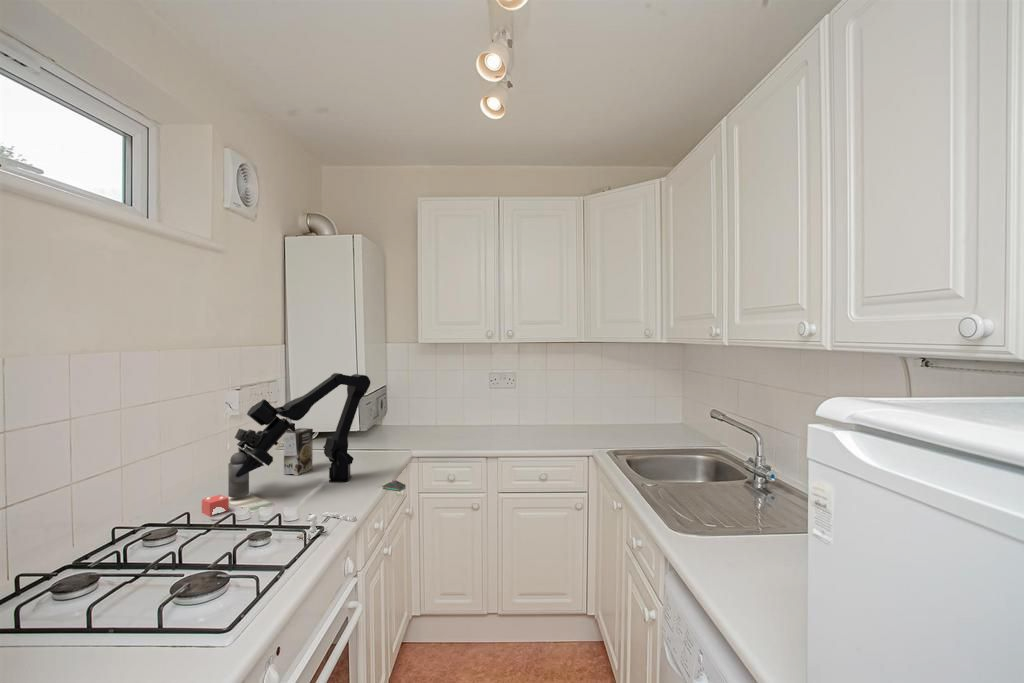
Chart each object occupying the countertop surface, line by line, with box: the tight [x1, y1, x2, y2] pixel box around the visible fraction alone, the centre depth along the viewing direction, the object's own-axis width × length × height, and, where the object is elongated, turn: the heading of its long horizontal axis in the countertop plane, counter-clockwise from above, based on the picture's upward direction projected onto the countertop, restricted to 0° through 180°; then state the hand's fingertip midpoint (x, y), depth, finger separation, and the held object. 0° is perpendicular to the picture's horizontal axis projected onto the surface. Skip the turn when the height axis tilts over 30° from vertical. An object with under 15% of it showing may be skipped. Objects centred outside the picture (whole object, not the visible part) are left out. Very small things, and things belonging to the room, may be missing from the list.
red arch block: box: [201, 494, 230, 517], centre depth 134 cm, size 5×5×6 cm
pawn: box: [227, 451, 250, 498], centre depth 145 cm, size 6×6×13 cm
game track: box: [228, 493, 277, 513], centre depth 142 cm, size 20×11×1 cm, turn 56°
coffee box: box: [283, 427, 314, 476], centre depth 178 cm, size 9×6×16 cm
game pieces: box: [296, 479, 406, 541], centre depth 141 cm, size 45×13×6 cm, turn 159°
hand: (233, 474), depth 144 cm, fingers closed on pawn, 6 cm apart
